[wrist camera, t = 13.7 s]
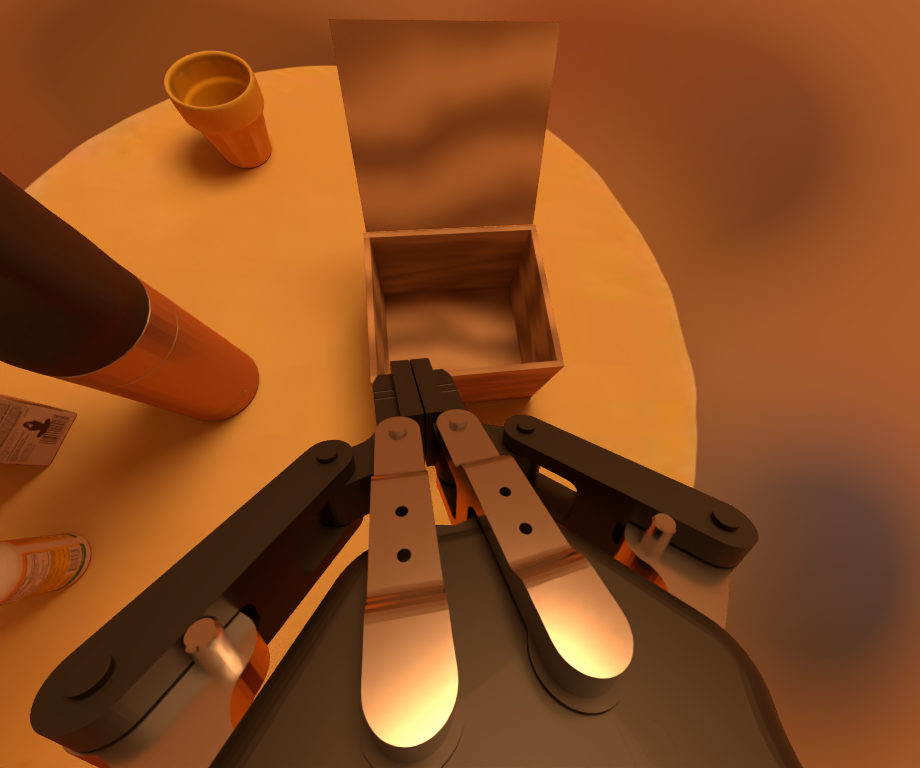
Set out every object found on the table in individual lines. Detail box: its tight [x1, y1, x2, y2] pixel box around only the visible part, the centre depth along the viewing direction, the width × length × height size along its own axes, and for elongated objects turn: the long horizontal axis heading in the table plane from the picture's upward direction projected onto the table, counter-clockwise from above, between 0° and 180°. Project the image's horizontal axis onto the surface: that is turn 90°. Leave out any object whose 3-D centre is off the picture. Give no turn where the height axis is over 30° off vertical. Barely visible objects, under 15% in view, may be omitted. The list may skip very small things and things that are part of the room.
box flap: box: [329, 19, 560, 232], centre depth 32 cm, size 15×17×1 cm
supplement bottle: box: [0, 534, 91, 605], centre depth 32 cm, size 5×5×10 cm
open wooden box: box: [364, 225, 564, 403], centre depth 40 cm, size 16×18×12 cm
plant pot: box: [164, 51, 271, 168], centre depth 48 cm, size 10×10×10 cm
